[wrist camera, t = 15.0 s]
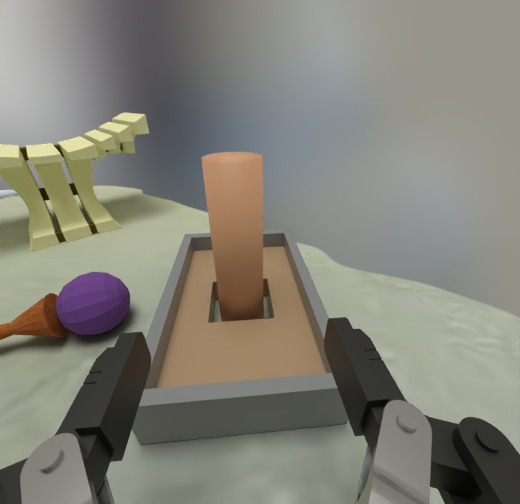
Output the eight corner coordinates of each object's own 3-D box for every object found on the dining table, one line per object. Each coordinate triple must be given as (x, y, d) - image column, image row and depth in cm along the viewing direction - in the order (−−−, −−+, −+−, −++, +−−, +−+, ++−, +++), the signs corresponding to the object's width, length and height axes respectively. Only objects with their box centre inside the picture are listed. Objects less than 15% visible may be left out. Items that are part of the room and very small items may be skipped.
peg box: (140, 444, 17) (120, 408, 14) (190, 262, 36) (184, 234, 33) (346, 423, 18) (358, 386, 15) (288, 257, 37) (290, 229, 34)
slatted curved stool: (141, 196, 61) (119, 112, 52) (166, 215, 51) (145, 114, 41) (-33, 232, 45) (-109, 119, 36) (-49, 272, 34) (-162, 125, 25)
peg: (220, 335, 25) (197, 164, 16) (222, 304, 28) (204, 152, 20) (265, 331, 25) (265, 162, 17) (261, 301, 29) (259, 151, 20)
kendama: (-138, 325, 21) (120, 256, 27) (-89, 377, 23) (139, 303, 29) (-233, 378, 16) (113, 278, 22) (-159, 438, 18) (136, 333, 24)
